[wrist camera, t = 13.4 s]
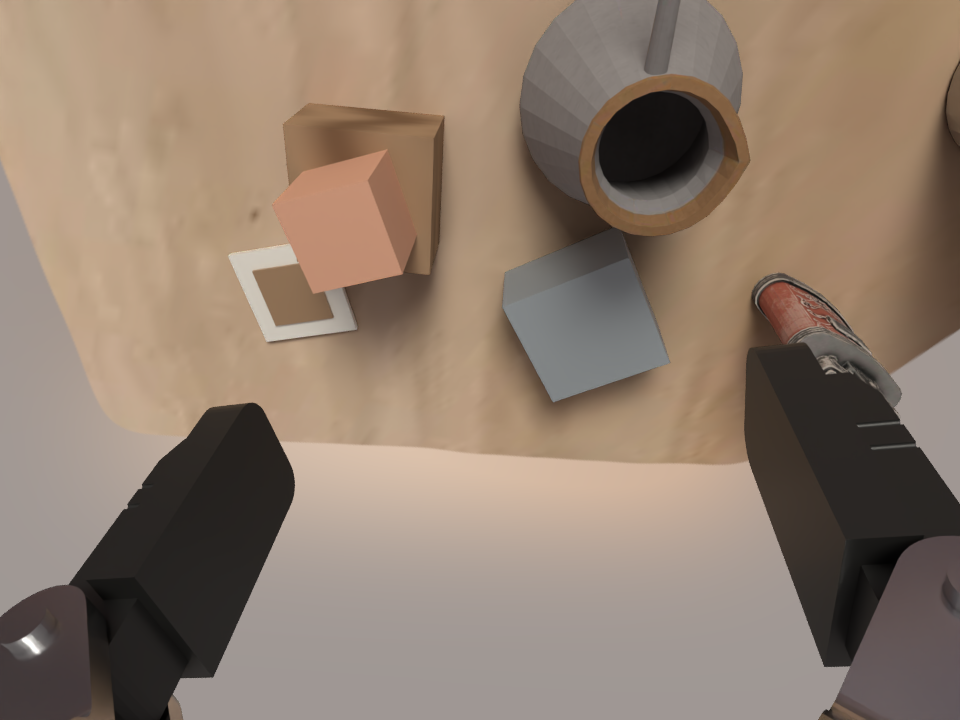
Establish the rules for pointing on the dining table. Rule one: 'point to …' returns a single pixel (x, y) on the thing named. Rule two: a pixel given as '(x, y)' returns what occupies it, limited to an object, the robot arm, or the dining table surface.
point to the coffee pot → (637, 110)
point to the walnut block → (360, 132)
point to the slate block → (584, 316)
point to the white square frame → (289, 296)
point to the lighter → (820, 331)
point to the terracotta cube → (347, 222)
